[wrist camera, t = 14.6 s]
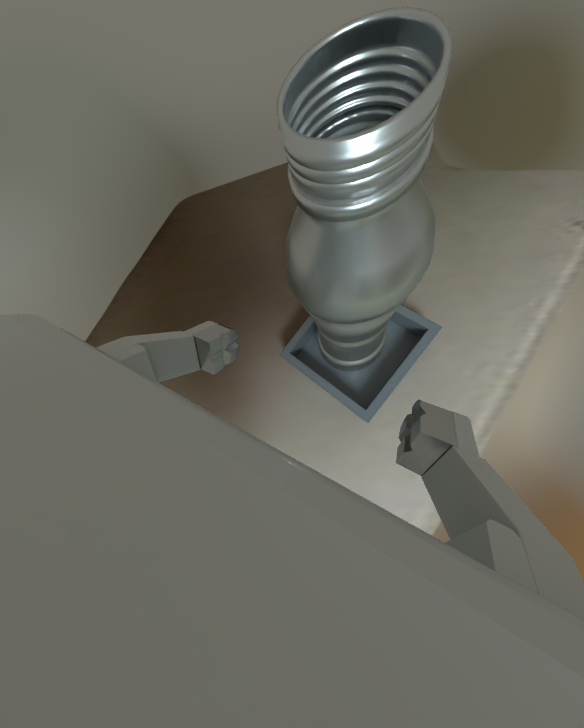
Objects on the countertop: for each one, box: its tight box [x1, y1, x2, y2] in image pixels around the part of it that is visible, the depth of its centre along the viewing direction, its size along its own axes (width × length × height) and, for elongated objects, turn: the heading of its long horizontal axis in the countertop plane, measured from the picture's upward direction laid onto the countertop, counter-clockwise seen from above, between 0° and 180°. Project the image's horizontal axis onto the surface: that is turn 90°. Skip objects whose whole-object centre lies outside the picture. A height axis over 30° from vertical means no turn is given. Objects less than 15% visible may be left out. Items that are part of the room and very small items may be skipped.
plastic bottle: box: [277, 7, 452, 371], centre depth 14 cm, size 6×7×20 cm
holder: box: [280, 305, 442, 423], centre depth 22 cm, size 11×11×3 cm
